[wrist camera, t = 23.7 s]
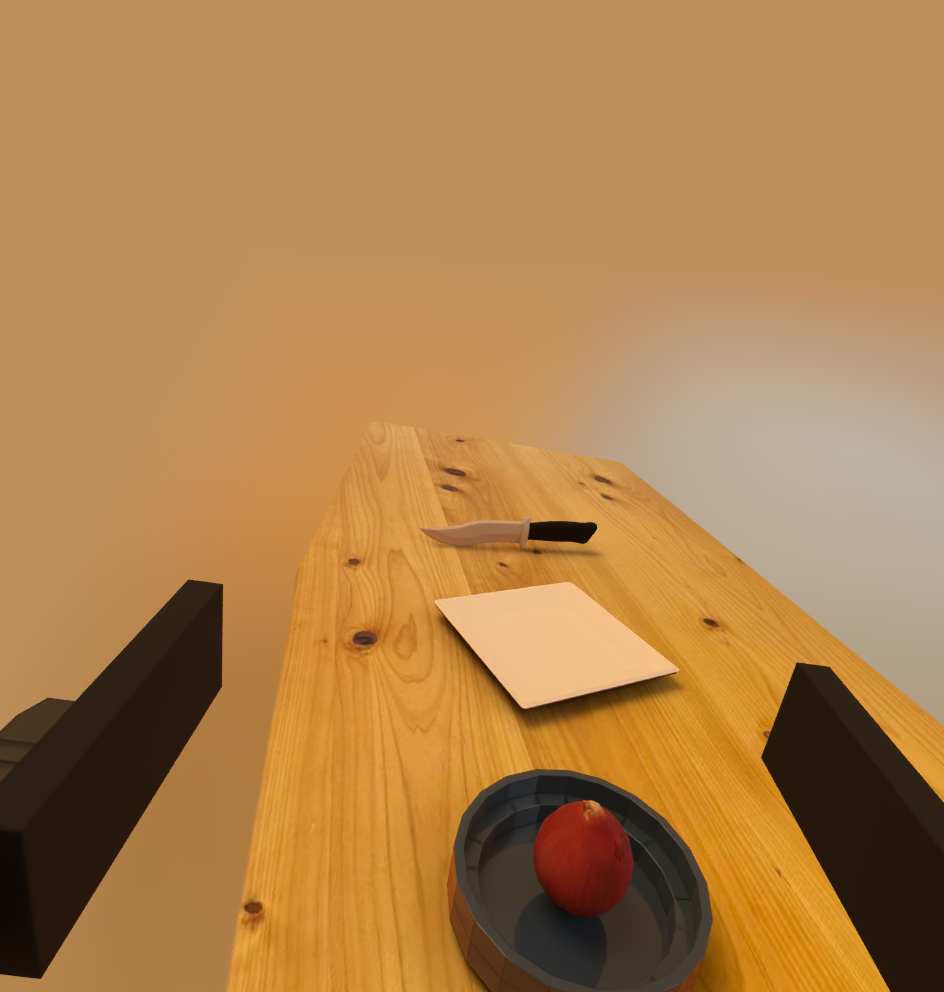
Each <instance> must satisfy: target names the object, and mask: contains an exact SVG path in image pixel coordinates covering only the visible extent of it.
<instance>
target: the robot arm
mask: <svg viewBox="0 0 944 992" xmlns="http://www.w3.org/2000/svg"><path fill="white" fill-rule="evenodd" d="M222 616H223V584H217V583H209V582H202V581H195V580H188V581H187V582H186V583H185V584H184V585H183V586H182V587H181V588H180V589H179V590H178V591H177V593H176V594H175V595H174V596H173V597H172V598H171V599H170V600H169V601H168V602H167V603H166V604H165V605H164V607H163V608H162V609H161V610H160V611H159V612H158V613H157V614H156V615H155V616H154V617H153V618H152V619H151V620H150V621H149V623H148V624H147V625H146V626H145V627H144V628H143V629H142V630H141V631H140V632H139V633H138V634H137V636H135V638H134V639H133V640H132V641H131V642H130V643H129V644H128V645H127V646H126V647H125V648H124V649H123V651H122V652H121V653H120V654H119V655H118V656H117V657H116V658H115V659H114V660H113V661H112V662H111V663H110V664H109V666H108V667H107V668H106V669H105V670H104V671H103V672H102V673H101V674H100V675H99V676H98V677H97V679H95V681H94V682H93V683H92V684H91V685H90V686H89V687H88V688H87V689H86V690H85V691H84V692H83V693H82V695H81V696H80V697H79V698H78V699H77V700H76V701H69V700H60V699H54V698H47V699H45V700H43V701H41V702H40V703H38V704H36V705H34V706H33V707H31V708H29V709H27V710H25V711H24V712H22V713H20V714H18V715H17V716H15V717H14V718H13V719H12V721H10V722H9V723H8V724H7V725H6V726H5V727H4V728H3V729H2V730H1V731H0V974H3V975H12V976H20V977H29V978H37V979H41V978H42V976H43V974H44V973H45V971H46V970H47V968H48V966H49V965H50V963H51V961H52V960H53V958H54V957H55V955H56V953H57V952H58V950H59V949H60V947H61V945H62V944H63V942H64V941H65V939H66V937H67V936H68V934H69V932H70V931H71V929H72V928H73V926H74V924H75V923H76V921H77V920H78V918H79V916H80V915H81V913H82V911H83V910H84V908H85V906H86V905H87V903H88V902H89V900H90V899H91V897H92V895H93V894H94V892H95V891H96V889H97V887H98V886H99V884H100V882H101V881H102V879H103V878H104V876H105V874H106V872H107V871H108V870H109V868H110V866H111V865H112V863H113V861H114V860H115V858H116V856H117V855H118V853H119V852H120V850H121V849H122V847H123V845H124V844H125V842H126V840H127V839H128V837H129V836H130V834H131V832H132V831H133V829H134V827H135V826H136V824H137V823H138V821H139V819H140V818H141V816H142V815H143V813H144V811H145V810H146V808H147V807H148V805H149V803H150V802H151V800H152V798H153V797H154V795H155V794H156V792H157V790H158V789H159V787H160V786H161V784H162V782H163V781H164V779H165V777H166V776H167V774H168V773H169V771H170V769H171V768H172V766H173V765H174V763H175V761H176V759H177V758H178V756H179V755H180V753H181V752H182V750H183V748H184V747H185V745H186V744H187V742H188V740H189V739H190V737H191V736H192V734H193V732H194V731H195V729H196V727H197V726H198V724H199V723H200V721H201V719H202V718H203V716H204V715H205V713H206V711H207V710H208V708H209V706H210V704H211V703H212V701H213V700H214V698H215V697H216V695H217V693H218V692H219V690H220V689H221V687H222V622H223V617H222ZM761 758H762V760H763V762H764V763H765V765H766V767H767V769H768V771H769V773H770V774H771V776H772V778H773V780H774V782H775V783H776V785H777V787H778V789H779V791H780V792H781V794H782V796H783V798H784V800H785V802H786V803H787V805H788V807H789V809H790V811H791V812H792V814H793V816H794V818H795V820H796V821H797V823H798V825H799V827H800V829H801V831H802V832H803V834H804V836H805V838H806V840H807V841H808V843H809V845H810V847H811V849H812V850H813V852H814V854H815V856H816V858H817V860H818V861H819V863H820V865H821V867H822V869H823V870H824V872H825V874H826V876H827V878H828V879H829V881H830V883H831V885H832V887H833V888H834V890H835V892H836V894H837V896H838V898H839V899H840V901H841V903H842V905H843V907H844V908H845V910H846V912H847V914H848V916H849V917H850V919H851V921H852V923H853V925H854V927H855V928H856V930H857V932H858V934H859V936H860V937H861V939H862V941H863V943H864V945H865V946H866V948H867V950H868V952H869V954H870V956H871V957H872V959H873V961H874V963H875V965H876V966H877V968H878V970H879V972H880V974H881V975H882V977H883V979H884V981H885V983H886V985H887V986H888V988H889V990H890V992H944V802H943V801H942V800H941V799H940V798H939V796H938V795H937V794H936V793H935V792H934V791H933V789H932V788H931V787H930V786H929V785H928V783H927V782H926V781H925V780H924V779H923V777H922V776H921V775H920V774H919V773H918V772H917V770H916V769H915V768H914V767H913V766H912V764H911V763H910V762H909V761H908V760H907V758H906V757H905V756H904V755H903V754H902V753H901V751H900V750H899V749H898V748H897V747H896V745H895V744H894V743H893V742H892V741H891V739H890V738H889V737H888V736H887V735H886V734H885V732H884V731H883V730H882V729H881V728H880V726H879V725H878V724H877V723H876V722H875V720H874V719H873V718H872V717H871V716H870V715H869V713H868V712H867V711H866V710H865V709H864V707H863V706H862V705H861V704H860V703H859V701H858V700H857V699H856V698H855V697H854V696H853V694H852V693H851V692H850V691H849V690H848V688H847V687H846V686H845V685H844V684H843V682H842V681H841V680H840V679H839V678H838V677H837V675H836V674H835V673H834V672H833V671H832V669H831V668H830V667H827V666H819V665H812V664H805V663H796V666H795V669H794V671H793V674H792V677H791V679H790V682H789V685H788V687H787V690H786V693H785V695H784V698H783V701H782V703H781V706H780V709H779V711H778V714H777V717H776V719H775V722H774V725H773V727H772V730H771V733H770V735H769V738H768V741H767V743H766V746H765V749H764V751H763V754H762V757H761Z"/></svg>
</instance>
